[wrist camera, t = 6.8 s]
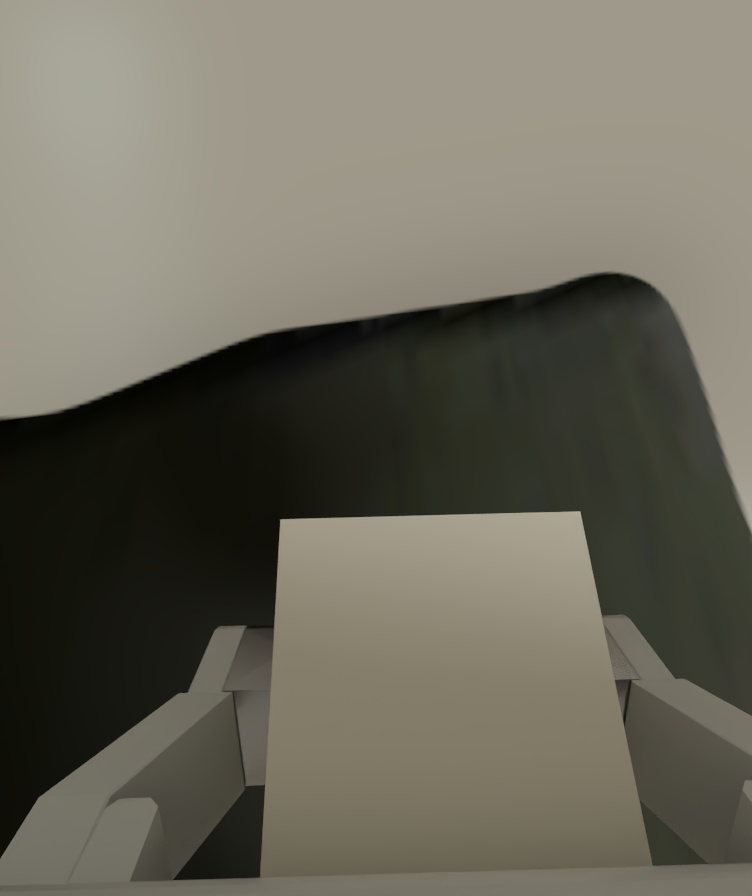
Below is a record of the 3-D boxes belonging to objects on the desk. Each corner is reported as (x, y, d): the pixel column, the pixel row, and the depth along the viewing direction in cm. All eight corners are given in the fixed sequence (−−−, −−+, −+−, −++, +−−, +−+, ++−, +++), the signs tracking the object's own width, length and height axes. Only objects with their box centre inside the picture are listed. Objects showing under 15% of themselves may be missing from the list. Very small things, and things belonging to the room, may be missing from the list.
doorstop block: (500, 793, 13) (656, 887, 5) (327, 798, 13) (259, 899, 5) (480, 615, 14) (579, 510, 7) (329, 619, 14) (280, 519, 7)
